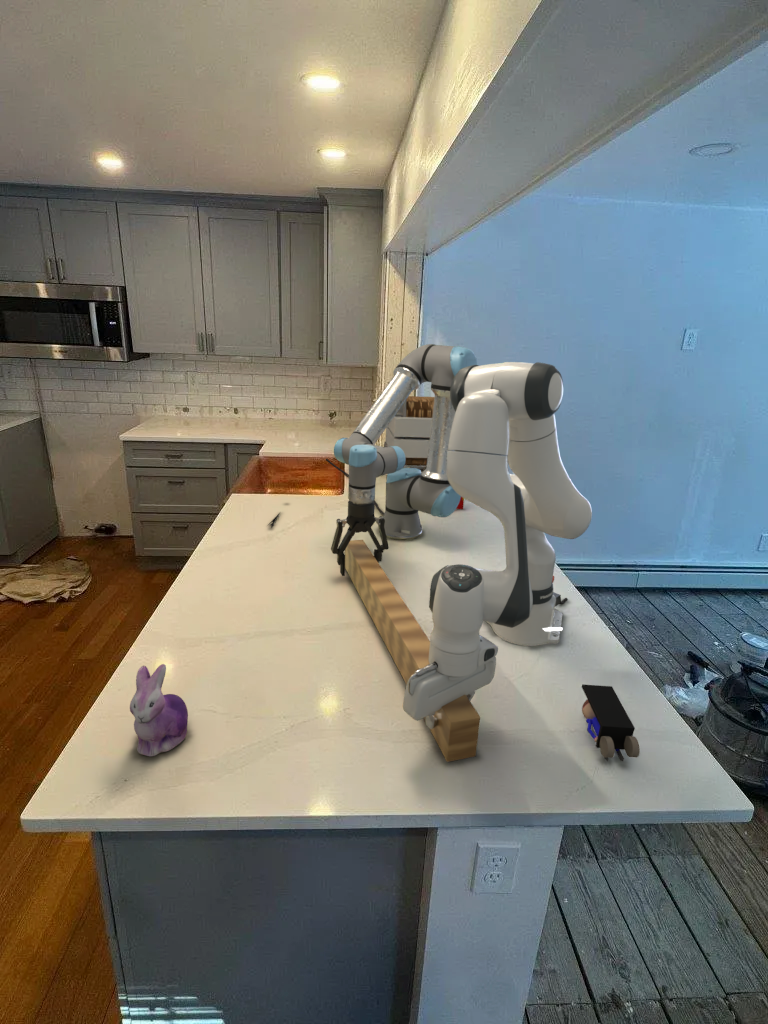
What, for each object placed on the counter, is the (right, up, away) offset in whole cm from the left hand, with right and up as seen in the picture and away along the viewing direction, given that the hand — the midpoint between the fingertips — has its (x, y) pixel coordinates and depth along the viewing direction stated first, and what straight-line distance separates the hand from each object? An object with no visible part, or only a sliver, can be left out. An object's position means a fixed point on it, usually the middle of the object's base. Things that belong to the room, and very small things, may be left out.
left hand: (359, 572), depth 167 cm
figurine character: (+49, -25, -60) cm, 81 cm away
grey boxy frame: (+25, +37, +108) cm, 117 cm away
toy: (+34, +23, +73) cm, 84 cm away
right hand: (+19, -21, -61) cm, 67 cm away
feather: (-32, +16, +45) cm, 57 cm away
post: (+9, -12, -30) cm, 33 cm away
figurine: (-32, -23, -65) cm, 76 cm away
